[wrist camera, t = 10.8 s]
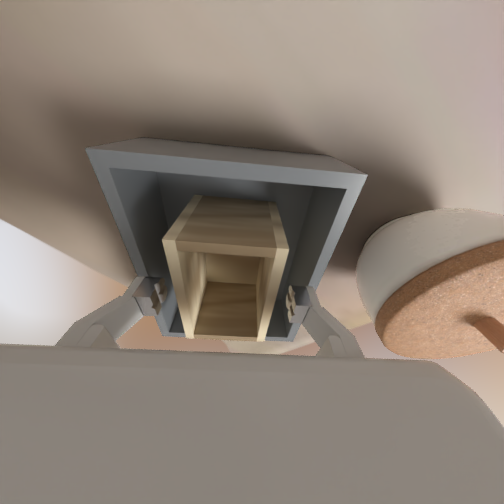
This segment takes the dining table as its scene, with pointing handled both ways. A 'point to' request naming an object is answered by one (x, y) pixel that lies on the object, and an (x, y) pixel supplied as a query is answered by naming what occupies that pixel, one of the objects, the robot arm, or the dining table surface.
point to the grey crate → (230, 186)
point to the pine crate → (226, 266)
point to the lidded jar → (436, 283)
